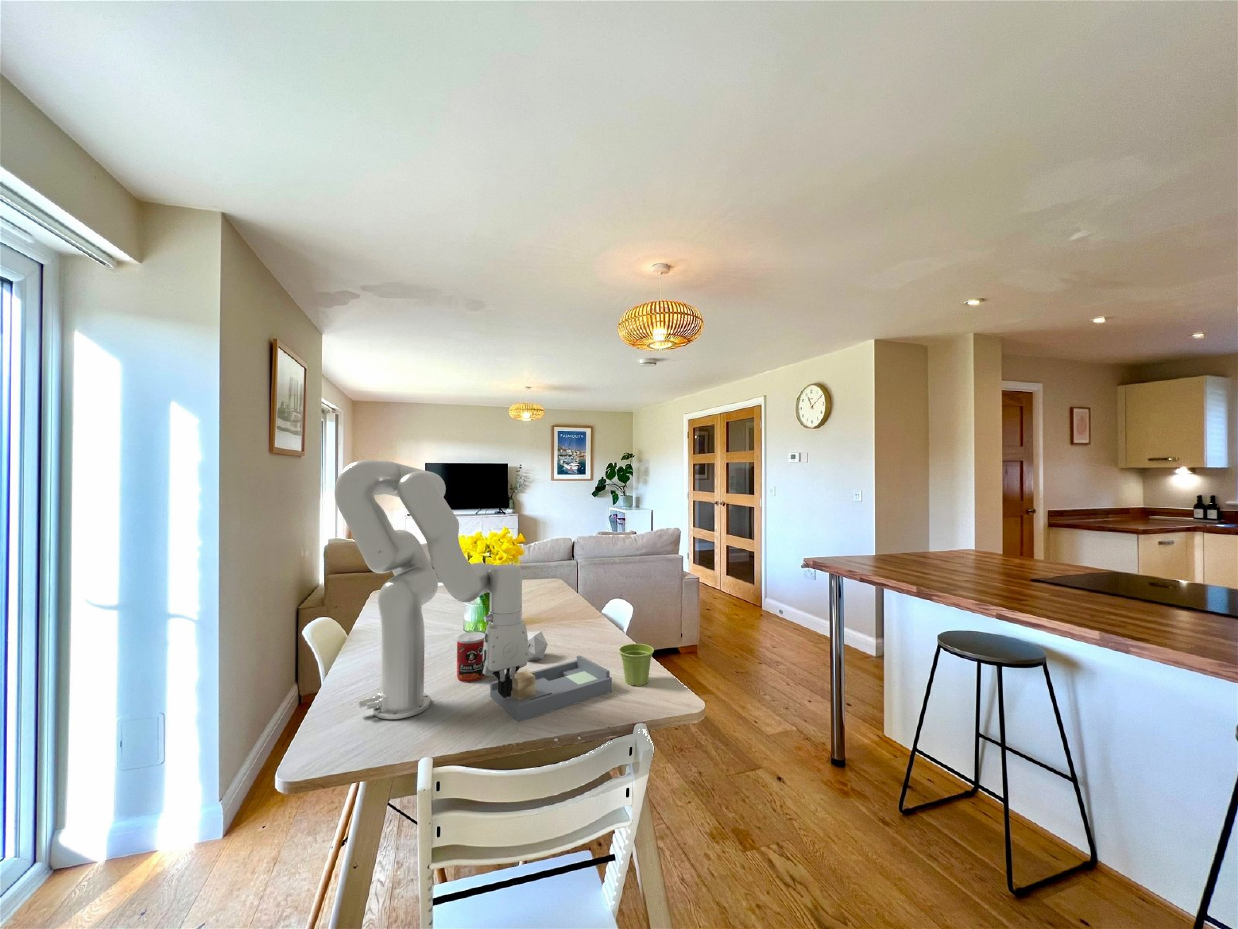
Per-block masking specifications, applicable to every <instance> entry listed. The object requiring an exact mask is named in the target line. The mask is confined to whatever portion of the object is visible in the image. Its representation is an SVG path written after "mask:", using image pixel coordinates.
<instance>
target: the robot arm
mask: <svg viewBox="0 0 1238 929" xmlns="http://www.w3.org/2000/svg"><path fill="white" fill-rule="evenodd" d="M335 481H336V482H335V484H334V485H335V486H334V499H335V503H336V505H337V509H338V510H339V512H340V514H341V516H342V518H343V519H344V521H345V523H346V525H347V526H348V529H349V531H350V533H351V536H352V538H353V540H354V541H355V544H356V546H357V547H358V550H359V551H360V554H361V556H362V558H363V560H364V562H365V564H366V565H367V567H368V569H370V571H372V572H374V573H375V574H386V573H391V572H392V573H393V575H394V576H391V578H389V579H388V580H387V581H385V582H384V584H383V585H382V586H381V588H380V590H379V593H378V597H377V605H378V611H379V617H380V635H381V636H380V638H381V639H380V688H378V689H376V693H374V694H373V695H372V696H369V697H363V698H359V699H357V708H358V709H361V708H365V709H366V710H371V709H372V713H373V715H374V716H375V717H377V718H380V719H381V720H382V719H383V720H399V719H400V720H402V719H405V718H410V717H412V716H413V717H414V716H415V715H419V714H421V713H423V712H424V711H426V710H427V709H428V708H429V707H430V705H431V704H432V701H431V700H432V699H431V696H430V695H429V694H428V693H426V692H425V646H426V645H425V644H426V643H425V642H426V641H425V640H426V639H425V622H424V615H423V612H422V611H423V610H422V609H423V608H422V607H423V606H424V605H426V604H427V603H428V602H430V601H431V600H432V599H433V598H434V597H435V595H436V593H437V592H438V588H439V581H441V584H442V586H444V588H445V589H446V591H447V592H448V593H449V594H450V596H451V597H452V598H454V599H455V600H457V601H458V602H461V603H471V602H473V601H475V600H477V599H478V598H479V597H480V596H482V595H484V594H486V593H487V594H488V593H489V611H488V614H487V615H485V616H484V617H483V620H484V621H483V622H484V623H488V624H487V625H486V628H485V632H484V634H485V637H484V645H483V665H484V669H483V674H485V676H489V677H490V676H493V677H496V679H497V681H498V693H499V694H500V695H501V696H502V697H503V698H507V697H510V696H511V691H512V679H513V678H514V677H515V674H516V673H518V671H519V670H520V669H522V668H524V667H526V666H527V664H528V662H529V661H528V660H529V647H528V636H527V632H528V630H527V625H526V621H525V620H523V618H522V617H523V616H522V615H523V612H522V611H523V608H522V607H523V570H522V568H521V567H520V566H519V565H517V564H509V563H508V564H507V563H505V564H492V563H491V564H490V563H485V562H473V563H470V562H469V560H468V559H467V557H466V555H465V553H464V552H463V550H462V548H461V544H460V539H459V538H460V537H459V533H460V521H459V519H458V518H457V516H456V515H455V513H454V511H453V510H452V508H451V507H450V505H449V504H448V502H447V500H446V499H445V498H444V496H445V494H446V489H447V488H446V484H445V481H444V480H443V478H442V477H441V476H440V475H439V474H437V473H435V472H432V471H428V470H424V469H420V468H416V467H412V466H409V465H404V464H401V463H397V462H394V461H388V460H374V459H373V460H372V459H365V460H363V459H362V460H357V461H355V462H352V463H350V464H348V465H346V466H345V467H344V469H343V470H342V471H341V472H340V473H339V474H338V477H337V480H335ZM379 495H380V496H381V495H386V496H388V495H389V496H392V497H397V498H399V499H400V501H401V503H402V504H403V506H404V508H405V509H406V510H407V512H408V513H409V515H410V516H411V518H412V520H413V521H414V523H415V524H416V526H417V528H418V529H419V531H420V532H421V534H422V536H423V537H424V540H425V541H426V545H427V550H428V554H429V557H430V560H429V558H428V556H427V555H426V554H427V553H426V552H425V550H424V548H423V547H422V544H421V542H420V541H419V540H418V538H417V537H416V536H415V535H414V534H413V533H412V532H410V531H408V530H404V529H394V527H393V525H392V524H391V522H390V520H389V518H388V515H387V513H386V511H385V510H384V509H383V508H382V506H381V505H380V504H379V503H378V501H377V500H376V498H375V496H379ZM430 561H431V562H430ZM437 576H438V577H437ZM438 579H440V580H439V581H438Z"/></svg>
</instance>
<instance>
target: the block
mask: <svg viewBox="0 0 1238 929" xmlns="http://www.w3.org/2000/svg"><path fill="white" fill-rule="evenodd" d="M530 672H531V671H528V670H524V671H520V672H516V674H515V677H514V678H513V679H512V691H511V695H512V696H514V697H515V698H516V699H518V700H521V699H524V698H527V697H530V696H533V695H535V676H534V675H533V674H531V673H530Z"/></svg>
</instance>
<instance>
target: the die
mask: <svg viewBox="0 0 1238 929" xmlns="http://www.w3.org/2000/svg"><path fill="white" fill-rule="evenodd" d="M527 636H528V647H529V660H528V662H529V661H531V662H532V661H542V660H543V658H544V656H545V653H546V651H547V648H548V646H549V644H548V642H547V640H546V637H545V635H544V633H543V631H541V630H539V631H538V630H537V631H527Z"/></svg>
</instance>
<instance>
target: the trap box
mask: <svg viewBox="0 0 1238 929" xmlns="http://www.w3.org/2000/svg"><path fill="white" fill-rule="evenodd" d="M529 672H530V673H531V674H533V675H534V676H535V695H533V696H530V697H527V698H524V699H521V700H518V699H516V698H515V697H514V696H512V695H511V696H510V697H507V698H503V697H502V696H501V695H500V694H499V693H498V680H495V681H490V683H489V684H490V685H489V687H490V688H489V697H490V698H491V699H492V700H493V701H494V702H496V704H498V705H499V706H500V707H502V709H504V710H505V711H506V712H507V713H508V714H510V716H512V717H513V718H514V719H516V720H517V722H519V723H520V722H522V721H526V720H529V719H531V718H536V717H538V716H540V715H544V714H548V713H551V712H554V711H557V710H559V709H563V708H566V707H569V706H572V705H575V704H578V703H582V702H585V701H587V700H591V699H593V698H598V697H600V696H604V695H606V694H608V693H612V690H613V678H612V677H611V676H610V674H611V673H610V670H609V669H607V668H605V667H603V666H601V665H599V664H597V663H596V662H593V661H592V660H590V659H587V658H585V657H584V656H582V655H580V654H579V655H577V656H576V659H575V660H572V661H568V662H563V663H560V664H559V663H558V664H556V665H553V666H549V667H545V668H541V669H537V670H533V671H529Z"/></svg>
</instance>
